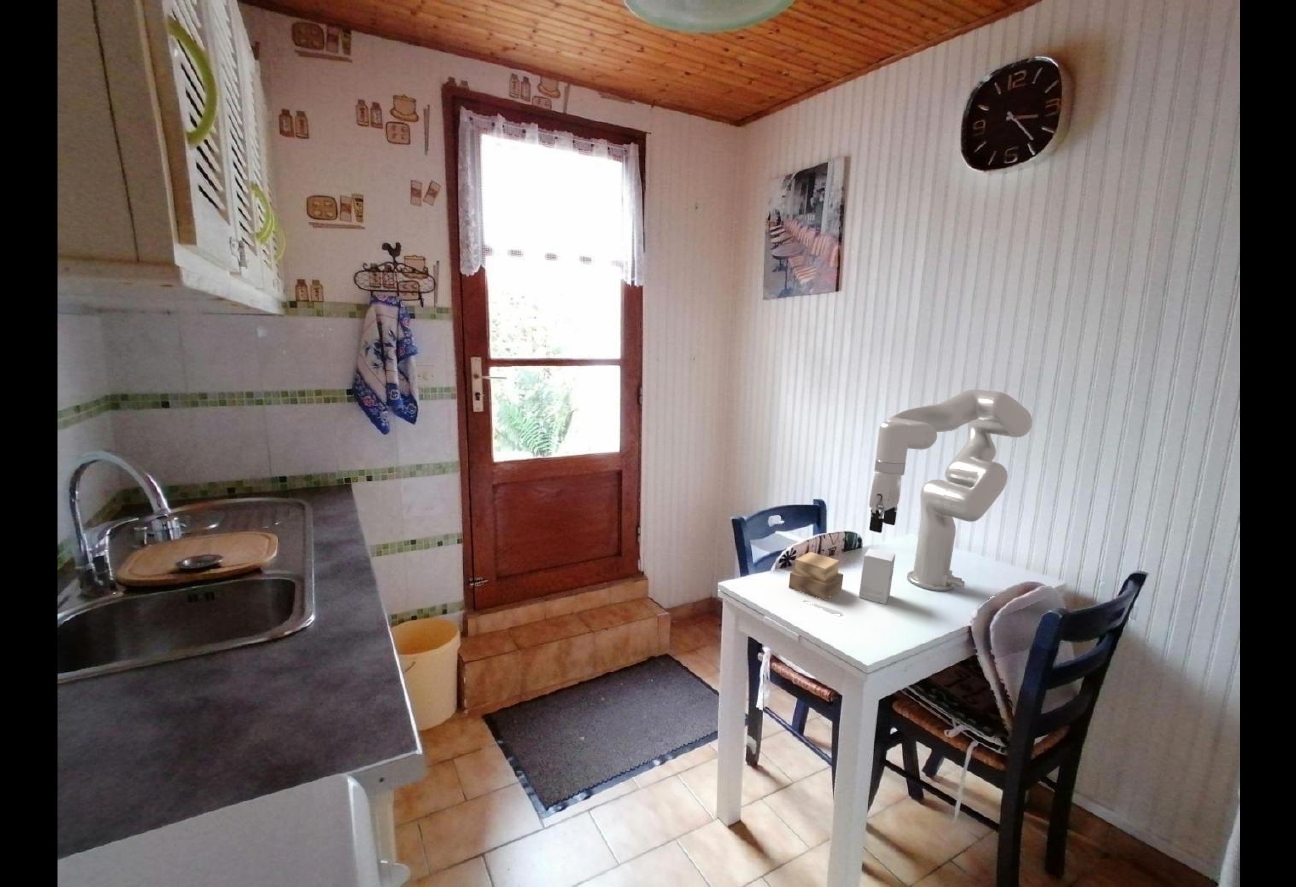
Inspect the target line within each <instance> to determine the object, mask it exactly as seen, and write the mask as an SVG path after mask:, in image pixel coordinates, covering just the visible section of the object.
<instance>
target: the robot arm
mask: <svg viewBox="0 0 1296 887" xmlns="http://www.w3.org/2000/svg"><path fill="white" fill-rule="evenodd" d="M965 425H967V441H966V443H965V445H964V446H963V447H962V448H961V449H960V450H959V452H958V453H957V454H956V456H954V457H953V459H952V460H951V461H950V463H949V464H948V466H947V467H946V468H945V470H944V471H945V472H944V477H945V480H944V479H932V480H931V479H930V480H928V481H926V482H925V483H924V484H923V485H922V487H921V490H920V496H919V497H920V523H919V530H918V531H919V532H918V536H917V544H916V552H915V558H914V565H913V570H911V571H909V572H907V573H906V574H907V575H906V578H907V581H908V582H910V583H912V584H913V585H914V586H917V587H920V588H923V589H926V590H931V591H938V592H946V591H947V592H948V591H950V590H953V588H954V586H957V587H959V588H964V586H965V581H964V580H963V578H961V577H956V576H955V575H953V570H951V566H952V565H951V564H952V557H953V552H954V543H955V539H956V533H957V530H956V524H955V521H954V519H958V520H961V521H965V522H969V523H971V522H972V523H973V522H976V521H978V520H980V519H981V518H983V517H984V515H985V514H986V513H987V511H988V510H989V509H990V508H991V506H992V505H993V504H994V503H995V502H996V500H997V499H998V498H999V497H1000V495H1001V494H1002V492H1003V491H1004V489H1005V487H1006V485H1007V482H1008V471H1007V469H1006V467H1005V466H1004V465H1002V464H1001V463H999V462H996V461H993V460H994V458H995V457H996V454H997V450H996V446H995V443H994V441H993V439H992V435H998V436H1004V437H1009V438H1022V437H1024V436H1026V435H1027V434H1028V433H1029V432H1030V431H1031V430H1032V425H1033V418H1032V416H1031V413H1030V411H1029V410H1028V409H1027V408H1026V407H1025V406H1023V405H1022V404H1021V403H1019V402H1018V401H1017V400H1016V399H1015V398H1013V397H1012V396H1010V395H1009V394H1007V393H1004V392H1002V391H993V390H984V389H968V390H964V391H962V392H960V393H959V394H957V395H955V396H952V397H950V398H949V399H946V400H944V401H942V402H940V403H934V404H929V405H926V406H925V405H924V406H920V407H915V408H909V409H905V410H903V411H900V412H898V413H896V414H894V415H892V416H891V417H889V418H888V419H887V420H886V421H882V422H881V423H880V425H879V428H878V439H877V444H876V445H877V446H876V453H875V454H876V456H875V461H874V462H875V463H874V469H873V470H874V472H875V473H874V475H873V476H874V477H873V480H872V485H871V491H870V497H869V502H868V507H870V521H869V529H868V530H869V531H870V532H875V533H879V534H881V533H882V532H883V525H884V524H885V525H886V524H887V525H890V526H895V525H896V520H897V511H898V505H899V503H900V502H899V501H900V496H901V486H902V476H905V471H906V465H907V464H906V463H907V458H908V457H907V455H908V450H909V449H912V450H920V451H921V450H922V451H923V450H927V449H929V448H931V447H932V446H934V444H936V442H937V438H938V433H943V432H944V433H945V432H946V433H947V432H952V431H956V430H958V429H959V428H961V427H963V426H965Z"/></svg>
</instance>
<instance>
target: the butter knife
mask: <svg viewBox="0 0 1296 887" xmlns="http://www.w3.org/2000/svg"><path fill="white" fill-rule="evenodd" d="M802 602H803V603H805V602H810V601H809V600H806V599H804V600H802ZM813 605H814V607H816V608H819V609H820V608H822V609H823V611H825V612H826V613H829V614H831V615H833V614H840V616H839V617H843V616H842V614H843V615H844V613H843V612H841V611H837V610H836V609H832V608H829V607H825V606H822V605H819V604H817V603H814V604H812V605H811V606H813ZM822 609H821V610H822Z"/></svg>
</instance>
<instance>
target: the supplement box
mask: <svg viewBox="0 0 1296 887" xmlns="http://www.w3.org/2000/svg"><path fill="white" fill-rule="evenodd" d="M895 561H896V553H894V552H890V551H884V550H879V549H873V548H868V549H867V550H866V552H865V553H864V556H863V561H862V570H861V577H860V586H859V593H858V598H861V599H865V600H867V601H871V602H874V603H875V602H876V603H879V602H880V604H882V603H883V605H886V604H887V602H888V599H889V598H890V595H891V588H892V583H893V582H892V581H893V575H894V568H895Z"/></svg>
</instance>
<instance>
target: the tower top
mask: <svg viewBox="0 0 1296 887" xmlns="http://www.w3.org/2000/svg"><path fill="white" fill-rule="evenodd" d="M794 564H795V565H794V570H795V572H794V573H797V574H800V575H803V576H806V577H809V578H812V579H815V580H818V581H821V582H826V581H827V580H829V579H830V578H832V577H833V576H835V575H837V574H838V573H839V566H840V560H839V559H835V558H832V557H828V556H826V555H822V554H820V553H815V552H812V551H809V552H807V553H805V554H802V555H801V556H800V557H797V558H796V559H795V563H794Z"/></svg>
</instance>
